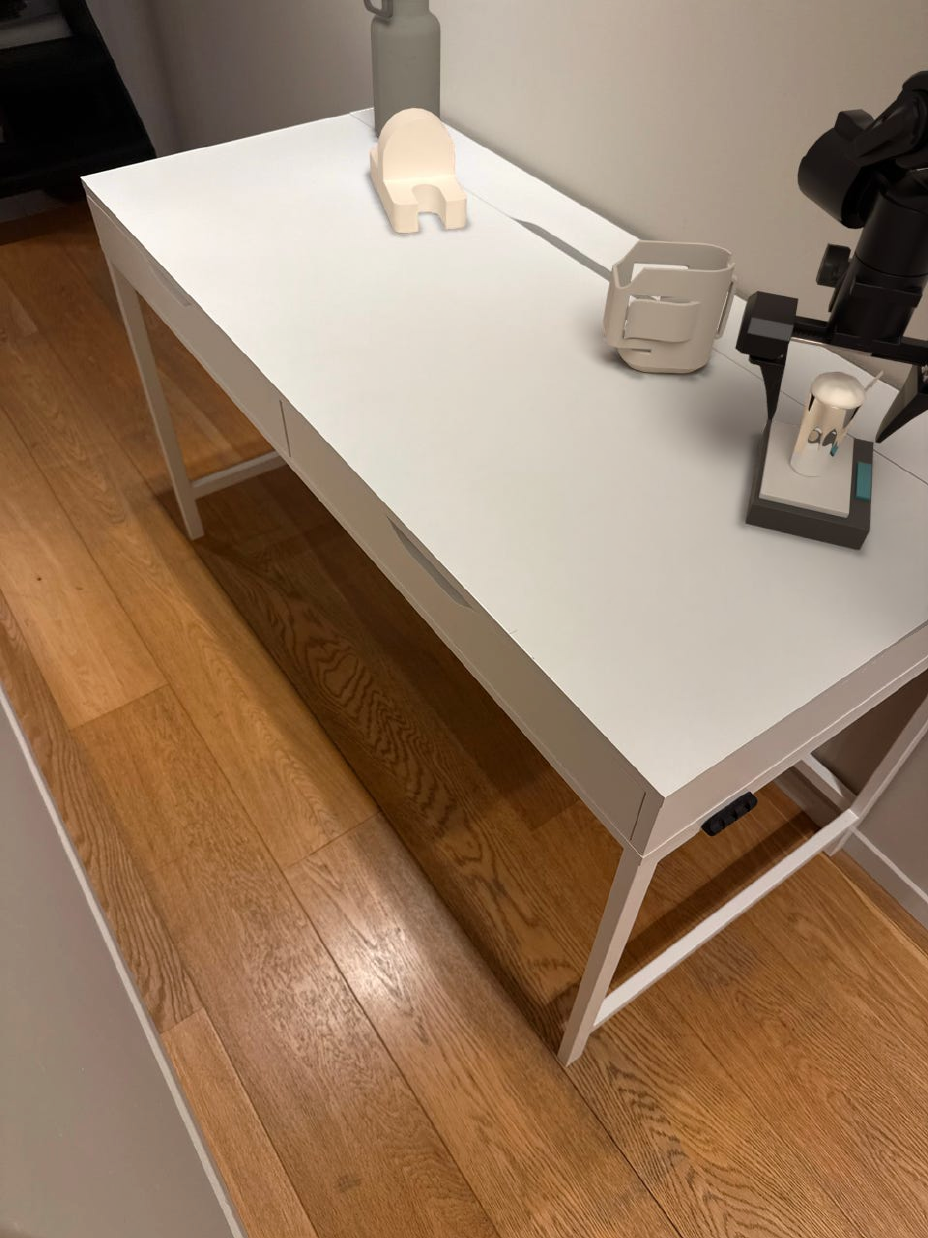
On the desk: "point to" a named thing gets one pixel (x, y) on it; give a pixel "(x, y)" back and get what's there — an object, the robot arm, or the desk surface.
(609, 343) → the cable organizer
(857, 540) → the scale
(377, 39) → the water bottle
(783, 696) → the desk surface
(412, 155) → the white slotted holder
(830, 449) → the milkshake
